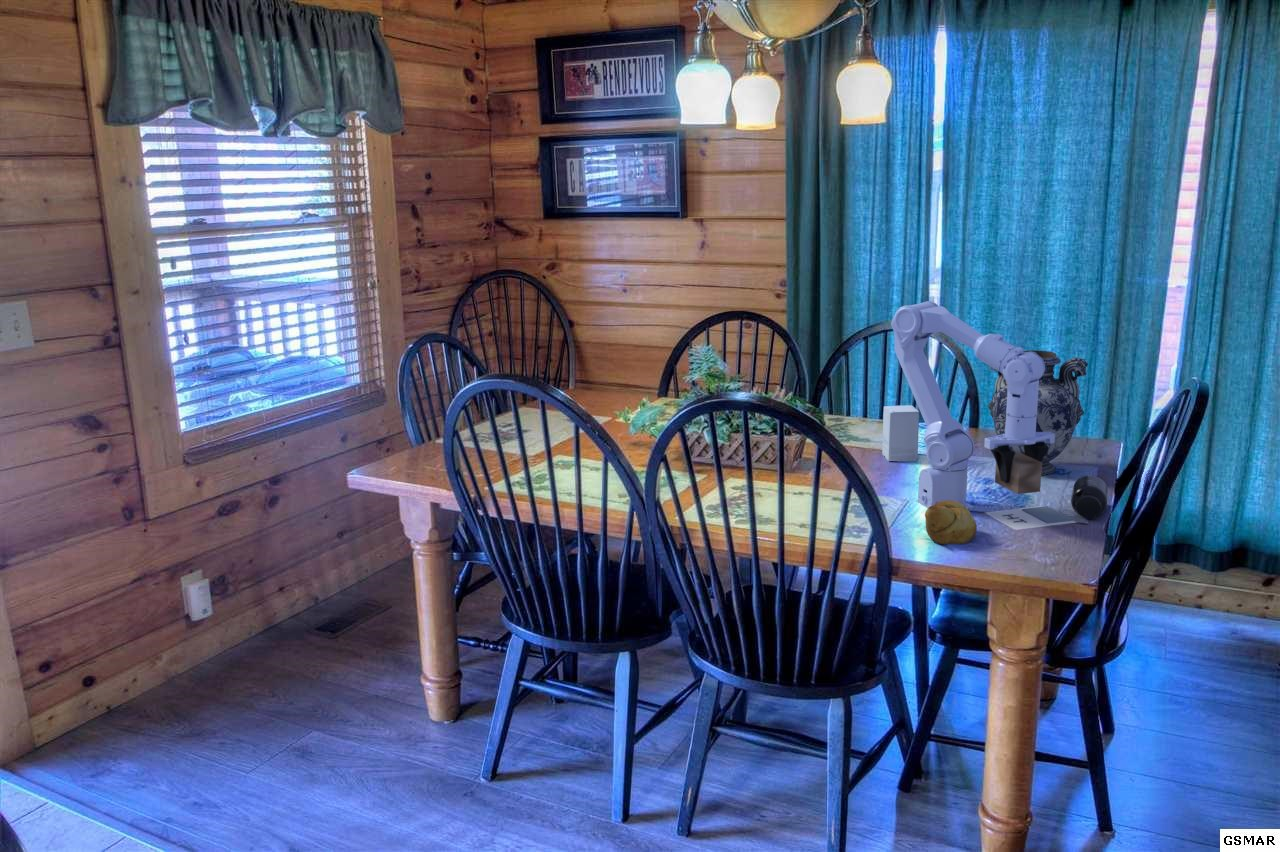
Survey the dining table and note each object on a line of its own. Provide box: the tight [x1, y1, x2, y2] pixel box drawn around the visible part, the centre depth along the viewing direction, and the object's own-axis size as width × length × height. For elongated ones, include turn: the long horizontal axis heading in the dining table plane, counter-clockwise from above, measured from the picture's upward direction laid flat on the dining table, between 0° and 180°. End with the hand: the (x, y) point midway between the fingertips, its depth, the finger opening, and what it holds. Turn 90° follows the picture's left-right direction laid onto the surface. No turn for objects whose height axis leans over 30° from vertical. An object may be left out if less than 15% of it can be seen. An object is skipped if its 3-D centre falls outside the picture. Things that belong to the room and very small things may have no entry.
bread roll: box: [924, 500, 978, 546], centre depth 201 cm, size 13×10×8 cm
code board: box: [984, 505, 1077, 531], centre depth 210 cm, size 14×11×1 cm
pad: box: [1022, 505, 1075, 524], centre depth 211 cm, size 6×9×1 cm
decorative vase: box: [987, 349, 1089, 476], centre depth 240 cm, size 21×19×28 cm
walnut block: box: [994, 452, 1042, 495], centre depth 206 cm, size 5×8×6 cm, turn 14°
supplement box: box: [881, 404, 920, 462], centre depth 255 cm, size 7×7×13 cm
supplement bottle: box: [1070, 474, 1109, 519], centre depth 211 cm, size 7×7×12 cm
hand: (1017, 480), depth 207 cm, fingers closed on walnut block, 5 cm apart
